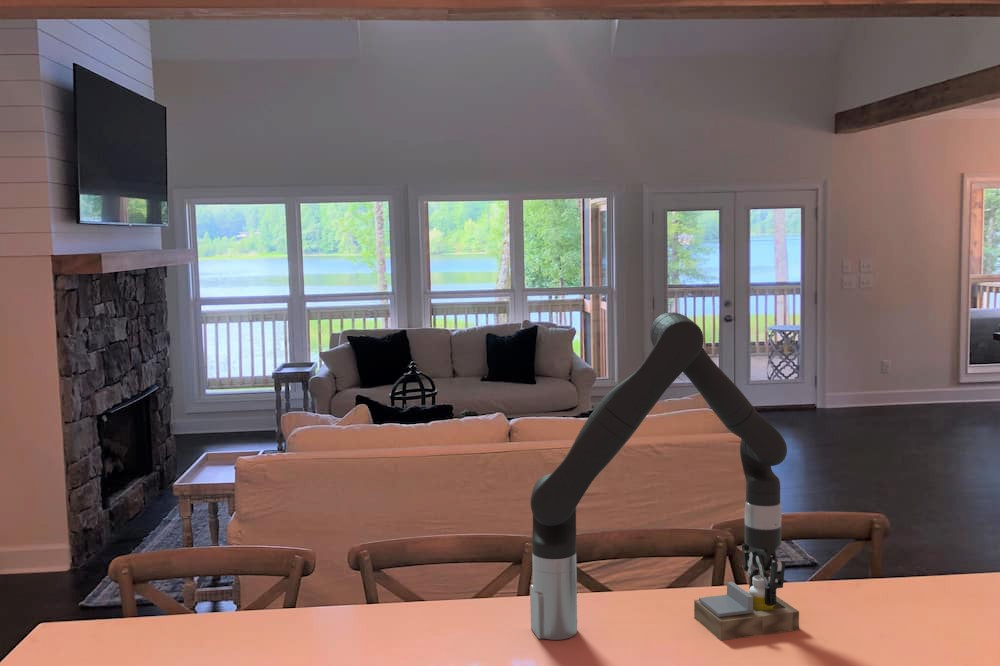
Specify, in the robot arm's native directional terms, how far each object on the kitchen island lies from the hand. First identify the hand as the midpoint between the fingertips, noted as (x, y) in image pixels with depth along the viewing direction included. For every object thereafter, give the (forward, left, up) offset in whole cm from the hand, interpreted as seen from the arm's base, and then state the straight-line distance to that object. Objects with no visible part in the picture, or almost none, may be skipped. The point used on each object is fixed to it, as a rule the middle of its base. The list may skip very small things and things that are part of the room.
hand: (762, 599), depth 195 cm
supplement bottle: (0, 0, -5) cm, 5 cm away
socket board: (-4, 0, -5) cm, 6 cm away
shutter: (-8, 0, -1) cm, 9 cm away
